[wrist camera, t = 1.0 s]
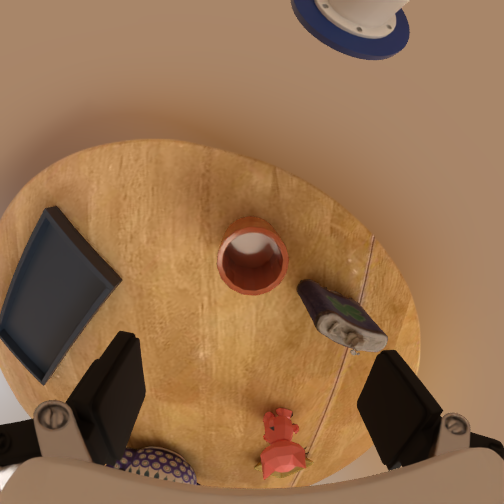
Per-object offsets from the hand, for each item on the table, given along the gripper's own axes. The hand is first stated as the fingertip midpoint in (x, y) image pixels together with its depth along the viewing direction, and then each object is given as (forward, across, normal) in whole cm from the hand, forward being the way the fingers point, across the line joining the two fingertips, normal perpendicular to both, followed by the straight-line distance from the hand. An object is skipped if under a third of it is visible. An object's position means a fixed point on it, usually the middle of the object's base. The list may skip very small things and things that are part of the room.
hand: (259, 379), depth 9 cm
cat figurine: (+22, -8, +27) cm, 36 cm away
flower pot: (+22, 0, 0) cm, 22 cm away
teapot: (+22, +12, +46) cm, 53 cm away
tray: (+22, +30, +13) cm, 39 cm away
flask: (+22, -11, +6) cm, 25 cm away
